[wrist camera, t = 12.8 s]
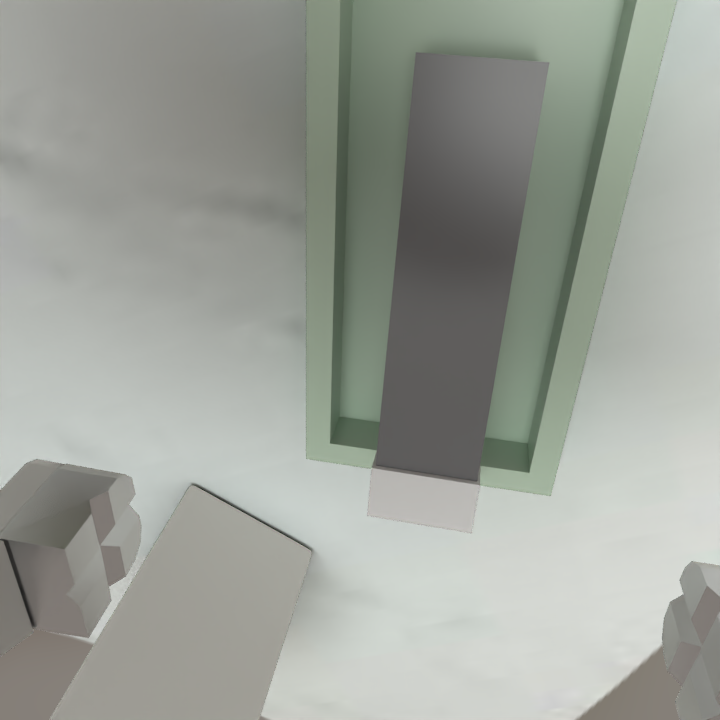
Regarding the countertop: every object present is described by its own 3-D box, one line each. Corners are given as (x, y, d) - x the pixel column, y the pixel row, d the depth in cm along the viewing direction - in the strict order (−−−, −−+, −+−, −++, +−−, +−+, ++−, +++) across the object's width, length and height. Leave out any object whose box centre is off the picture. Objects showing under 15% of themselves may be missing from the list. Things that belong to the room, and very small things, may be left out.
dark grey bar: (423, 55, 21) (411, 51, 17) (542, 64, 20) (554, 62, 17) (381, 460, 27) (367, 515, 24) (473, 475, 26) (471, 533, 23)
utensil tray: (319, 424, 30) (306, 458, 28) (328, -169, 19) (306, -186, 17) (546, 456, 28) (550, 496, 26) (695, -160, 18) (721, -177, 15)
